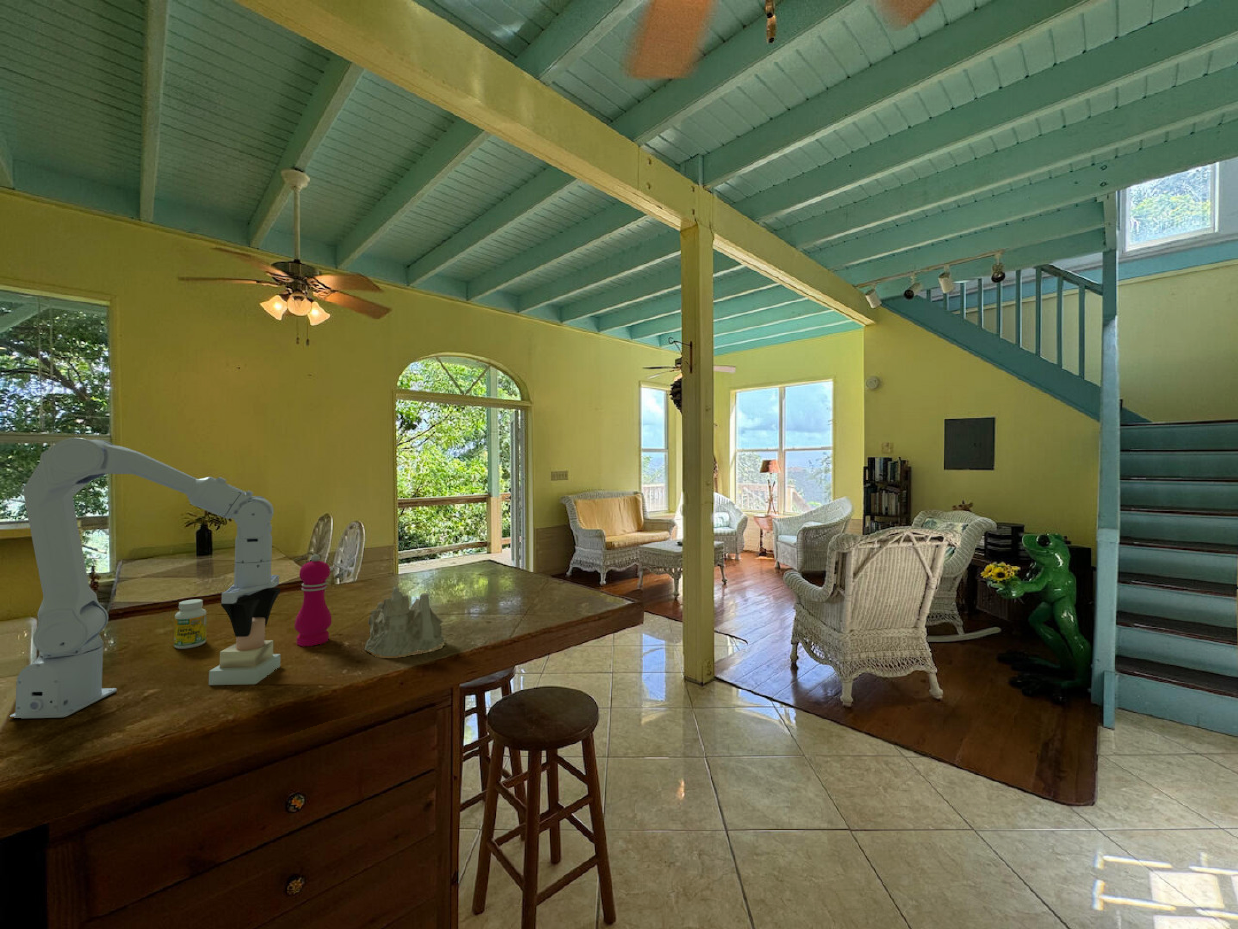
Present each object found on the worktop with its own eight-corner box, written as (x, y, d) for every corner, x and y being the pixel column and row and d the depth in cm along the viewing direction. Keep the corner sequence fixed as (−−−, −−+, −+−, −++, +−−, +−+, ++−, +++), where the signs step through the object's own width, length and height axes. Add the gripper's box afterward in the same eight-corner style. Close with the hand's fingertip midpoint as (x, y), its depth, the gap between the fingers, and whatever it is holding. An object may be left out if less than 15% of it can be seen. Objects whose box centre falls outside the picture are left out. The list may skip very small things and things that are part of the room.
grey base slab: (255, 686, 92) (256, 670, 92) (208, 687, 91) (209, 671, 91) (280, 668, 100) (280, 654, 100) (236, 669, 99) (237, 654, 99)
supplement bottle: (207, 639, 114) (208, 597, 114) (204, 646, 109) (205, 602, 109) (176, 643, 111) (177, 600, 111) (171, 651, 106) (172, 606, 106)
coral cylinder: (255, 650, 94) (256, 624, 94) (230, 650, 93) (231, 624, 93) (269, 642, 98) (270, 617, 98) (245, 642, 98) (246, 617, 98)
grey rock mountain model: (449, 650, 111) (447, 582, 112) (366, 666, 103) (365, 592, 104) (437, 633, 125) (436, 572, 125) (363, 646, 117) (362, 581, 117)
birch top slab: (254, 667, 93) (254, 651, 93) (219, 668, 93) (220, 651, 93) (272, 655, 99) (273, 640, 99) (240, 655, 99) (241, 640, 99)
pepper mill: (288, 648, 110) (291, 557, 110) (300, 637, 117) (303, 551, 117) (325, 646, 111) (328, 556, 112) (334, 635, 118) (337, 551, 119)
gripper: (252, 568, 89) (250, 644, 89) (295, 553, 104) (293, 619, 103) (209, 568, 88) (207, 645, 88) (258, 553, 103) (256, 619, 103)
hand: (251, 631), depth 96 cm, fingers open, 5 cm apart
